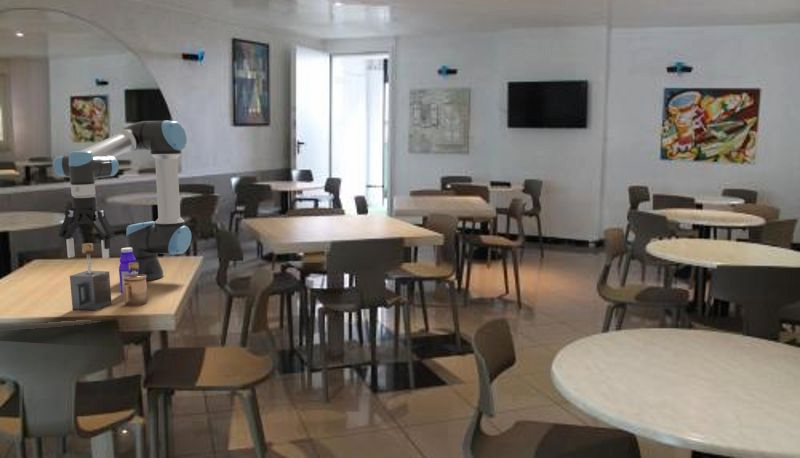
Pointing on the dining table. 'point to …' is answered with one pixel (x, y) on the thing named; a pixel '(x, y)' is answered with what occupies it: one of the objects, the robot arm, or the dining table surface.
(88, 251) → the plunger tall
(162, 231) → the robot arm
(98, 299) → the cube with square hole
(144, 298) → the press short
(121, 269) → the bottle
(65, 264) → the dining table surface
